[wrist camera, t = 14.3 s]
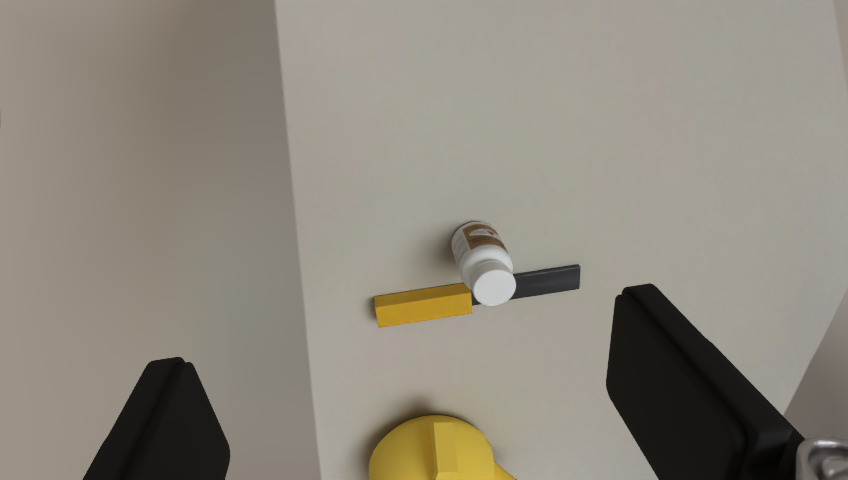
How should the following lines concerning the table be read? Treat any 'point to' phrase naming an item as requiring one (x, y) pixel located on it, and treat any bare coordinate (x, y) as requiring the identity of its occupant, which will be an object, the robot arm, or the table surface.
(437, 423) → the teapot
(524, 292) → the knife
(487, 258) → the pill bottle
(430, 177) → the table surface
